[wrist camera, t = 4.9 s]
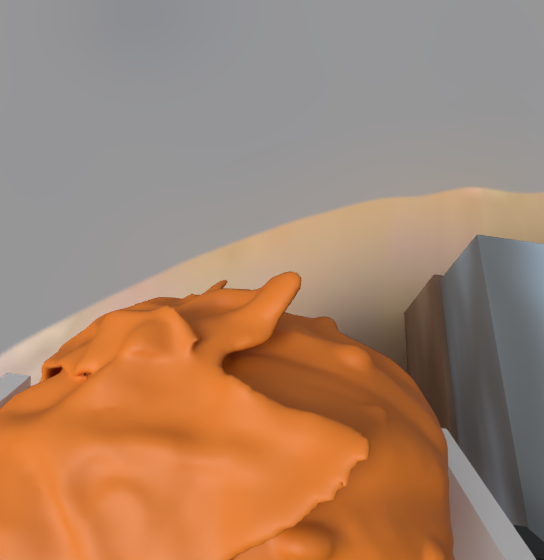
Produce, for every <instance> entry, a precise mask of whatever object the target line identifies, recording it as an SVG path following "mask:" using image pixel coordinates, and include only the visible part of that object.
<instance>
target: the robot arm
mask: <svg viewBox="0 0 544 560" xmlns="http://www.w3.org/2000/svg"><path fill="white" fill-rule="evenodd" d="M30 381H31V376H28V375H20V374H12V373H6V374H5V375H3V376H2V377H1V378H0V408H1V407H3V406H4V405H5V404H6V403H7V402H8V401H9V400H10V399H11V398H13V396H14V395H16V394H18V393H20V392H22V391H24V390H26V389H27V388H29V387H30ZM441 429H442V431H443V433H444V436H445V438H446V441H447V446H448V478H449V506H450V519H451V528H452V533H453V538H454V544H453V554H454V558H455V560H544V542H543V541H542V540H541V539H540V538H539V537H538V536H537V535H535V534H534V533H533V532H532V531H531V530H530V529H528V528H527V527H526V526H518V525H512V523H511V522H510V521H509V519H508V518H507V516H506V515H505V513H504V512H503V510H502V509H501V507H500V506H499V504H498V503H497V502H496V500H495V499H494V497H493V496H492V494H491V493H490V491H489V490H488V488H487V487H486V485H485V484H484V483H483V481H482V480H481V478H480V477H479V475H478V474H477V472H476V471H475V469H474V468H473V466H472V465H471V464H470V462H469V461H468V459H467V458H466V456H465V455H464V453H463V452H462V450H461V449H460V448H459V446H458V445H457V443H456V442H455V440H454V439H453V437H452V436H451V434H450V433H449V431H448V430H447V429H445V428H441Z"/></svg>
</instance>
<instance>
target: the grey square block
mask: <svg viewBox="0 0 544 560" xmlns="http://www.w3.org/2000/svg"><path fill="white" fill-rule="evenodd" d="M404 314H405V330H406V346H407V363H408V374H409V375H410V377H411V378H412V379H413V380H414V381H415V383H416V384H417V386H418V388H419V389H420V391H421V392H422V394H423V395H424V397H425V399H426V400H427V402H428V404H429V405H430V407H431V408H432V410H433V412H434V414H435V416H436V417H437V419H438V421H439V424H440V426H441V428H445V429H447V430H448V431H449V433H450V434H451V436H452V437H453V439H454V440H455V442H456V443H457V445H458V446H459V448H460V449H461V450H462V452H463V453H464V455H465V456H466V458H467V459H468V461H469V462H470V464H471V465H472V466H473V468H474V469H475V471H476V472H477V474H478V475H479V477H480V478H481V480H482V481H483V483H484V484H485V485H486V487H487V488H488V490H489V491H490V493H491V494H492V496H493V497H494V499H495V500H496V502H497V503H498V504H499V506H500V507H501V509H502V510H503V512H504V513H505V515H506V516H507V518H508V519H509V521H510V522H511V523H512V525H518V526H526V527H527V528H528V529H530V530H531V531H532V532H533V533H534V534H535V535H537V536H538V537H539V538H540V539H541V540H542V541H543V542H544V244H539V243H532V242H525V241H518V240H511V239H504V238H498V237H491V236H484V235H476V237H475V238H474V239H473V240H472V241H471V243H470V244H469V245H468V246H467V248H466V249H465V250H464V251H463V253H462V254H461V255H460V256H459V258H458V259H457V260H456V261H455V262H454V264H453V265H452V266H451V267H450V269H449V270H448V271H447V272H446V274H445V275H444V276H441V275H433V277H432V278H431V279H430V280H429V282H428V283H427V284H426V286H425V287H424V288H423V290H422V291H421V292H420V293H419V295H418V296H417V297H416V299H415V300H414V301H413V302H412V304H411V305H410V306H409V308H408V309H407V310H406V312H405V313H404Z"/></svg>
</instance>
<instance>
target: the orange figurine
mask: <svg viewBox="0 0 544 560" xmlns="http://www.w3.org/2000/svg"><path fill="white" fill-rule="evenodd" d="M226 284H227V281H226V280H223V281H220V282H218V283H217V284H215V285H214V286H212V287H211V288H210V289H209V290H207V291H206V292H205V293H203V294H202V295H193V294H191V295H189V296H187V297H185V298H183V299H180V298H169V297H158V298H154V299H151V300H148V301H145V302H142V303H138V304H135V305H134V306H131V307H128V308H125V309H120V310H116V311H113V312H110V313H107V314H105V315H103V316H101V317H99V318H98V319H96V320H95V321H94V322H93V323H92V324H91V325H89V326H88V327H87V328H86V329H85V330H83V331H82V332H81V333H79V334H78V335H76V336H75V337H73V338H72V339H70V340H69V341H68V342H66V343H65V344H64V345H63V346H62V347H61V348H60V349H59V351H58V352H57V353H55V354H54V355H53V356H52V357H50V358H49V359H48V360H46V361H45V362H44V364H43V366H42V378H41V381H40V382H39V383H38V384H36V385H34V386H31V387H29V388H27V389H26V390H24V391H22V392H20V393H18V394H16V395H14V396H13V398H11V399H10V400H9V401H8V402H7V403H6V404H5V405H4V406H3V407H1V408H0V560H455V558H454V554H453V544H454V538H453V533H452V528H451V519H450V506H449V478H448V446H447V441H446V438H445V436H444V433H443V431H442V429H441V426H440V424H439V421H438V419H437V417H436V416H435V414H434V412H433V410H432V408H431V407H430V405H429V404H428V402H427V400H426V399H425V397H424V395H423V394H422V392H421V391H420V389H419V388H418V386H417V384H416V383H415V381H414V380H413V379H412V378H411V377H410V375H409V374H407V373H406V372H405V371H404V370H403V369H402V368H401V367H400V366H399V365H398V364H396V363H395V362H394V361H393V360H391V359H390V358H388V357H387V356H385V355H383V354H381V353H379V352H377V351H375V350H373V349H371V348H369V347H367V346H365V345H364V344H361V343H359V342H357V341H355V340H353V339H351V338H349V337H347V336H345V335H344V334H342V333H340V332H339V331H338V328H337V325H336V323H335V322H334V321H333V320H332V319H331V318H328V317H318V318H307V317H302V316H298V315H293V314H289V313H286V312H285V311H286V309H287V307H288V306H289V305H290V304H291V302H292V300H293V299H294V297H295V296H296V294H297V292H298V290H299V289H300V287H301V277H300V276H299V275H298V274H297V273H295V272H285V273H283V274H280V275H278V276H275V277H273V278H271V279H270V280H269V281H268V282H267V283H266V284H265V285H264V286H263V287H261V288H259V289H256V290H248V289H228V288H226V289H223V287H224V286H225V285H226Z"/></svg>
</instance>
